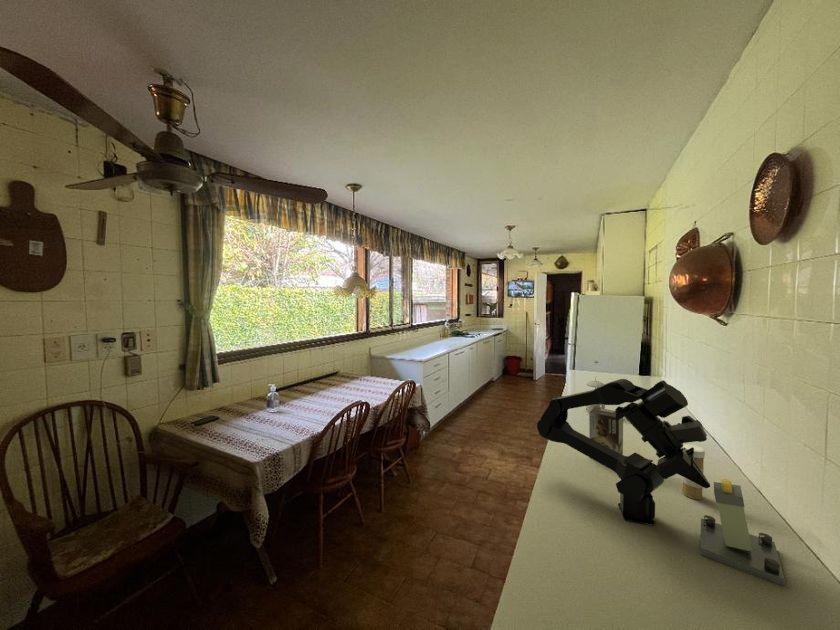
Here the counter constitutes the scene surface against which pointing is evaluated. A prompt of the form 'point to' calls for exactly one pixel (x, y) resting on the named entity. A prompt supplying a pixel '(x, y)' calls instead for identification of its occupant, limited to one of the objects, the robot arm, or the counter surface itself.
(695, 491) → the sprinkles bottle
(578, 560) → the counter surface
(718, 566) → the counter surface
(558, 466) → the counter surface
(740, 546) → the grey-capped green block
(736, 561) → the plate
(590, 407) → the french press
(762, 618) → the counter surface
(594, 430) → the coffee box
